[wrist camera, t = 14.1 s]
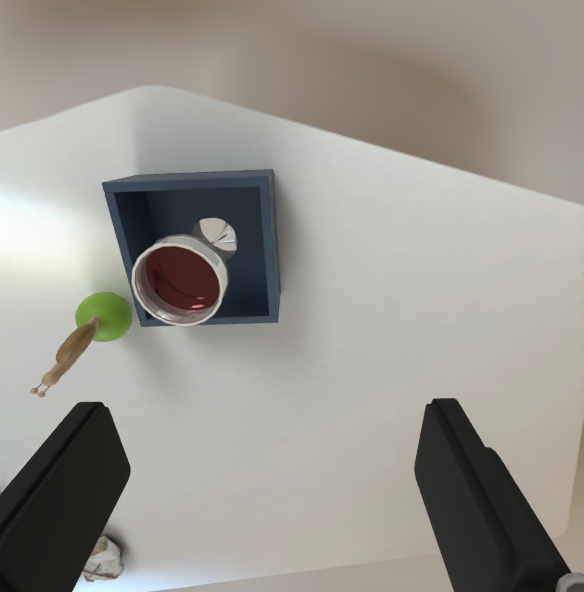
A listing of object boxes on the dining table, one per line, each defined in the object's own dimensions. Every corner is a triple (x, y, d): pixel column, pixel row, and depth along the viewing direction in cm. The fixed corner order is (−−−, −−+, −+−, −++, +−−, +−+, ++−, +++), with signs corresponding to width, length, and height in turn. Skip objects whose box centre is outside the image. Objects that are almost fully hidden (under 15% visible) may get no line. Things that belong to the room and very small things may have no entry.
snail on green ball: (83, 316, 39) (3, 382, 29) (103, 276, 37) (25, 331, 26) (125, 338, 41) (64, 410, 30) (147, 301, 39) (90, 364, 28)
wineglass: (220, 282, 37) (189, 342, 26) (169, 243, 35) (113, 289, 24) (258, 238, 35) (243, 284, 24) (206, 194, 33) (163, 221, 22)
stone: (130, 568, 64) (122, 589, 61) (82, 565, 63) (72, 587, 60) (124, 532, 58) (114, 553, 55) (71, 528, 58) (59, 550, 55)
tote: (136, 174, 33) (101, 182, 27) (273, 169, 32) (268, 175, 26) (164, 298, 38) (140, 327, 32) (280, 294, 38) (277, 322, 32)
